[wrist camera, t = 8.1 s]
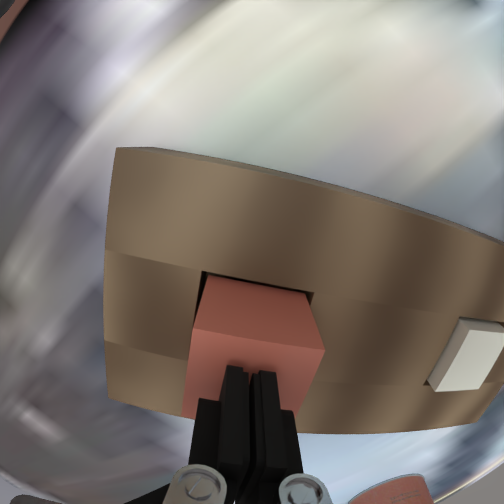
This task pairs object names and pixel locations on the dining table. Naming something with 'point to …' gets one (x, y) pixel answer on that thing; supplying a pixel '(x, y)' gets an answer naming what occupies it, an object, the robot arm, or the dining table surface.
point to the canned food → (396, 492)
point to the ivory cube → (467, 355)
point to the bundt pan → (5, 6)
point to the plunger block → (294, 286)
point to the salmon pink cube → (251, 341)
